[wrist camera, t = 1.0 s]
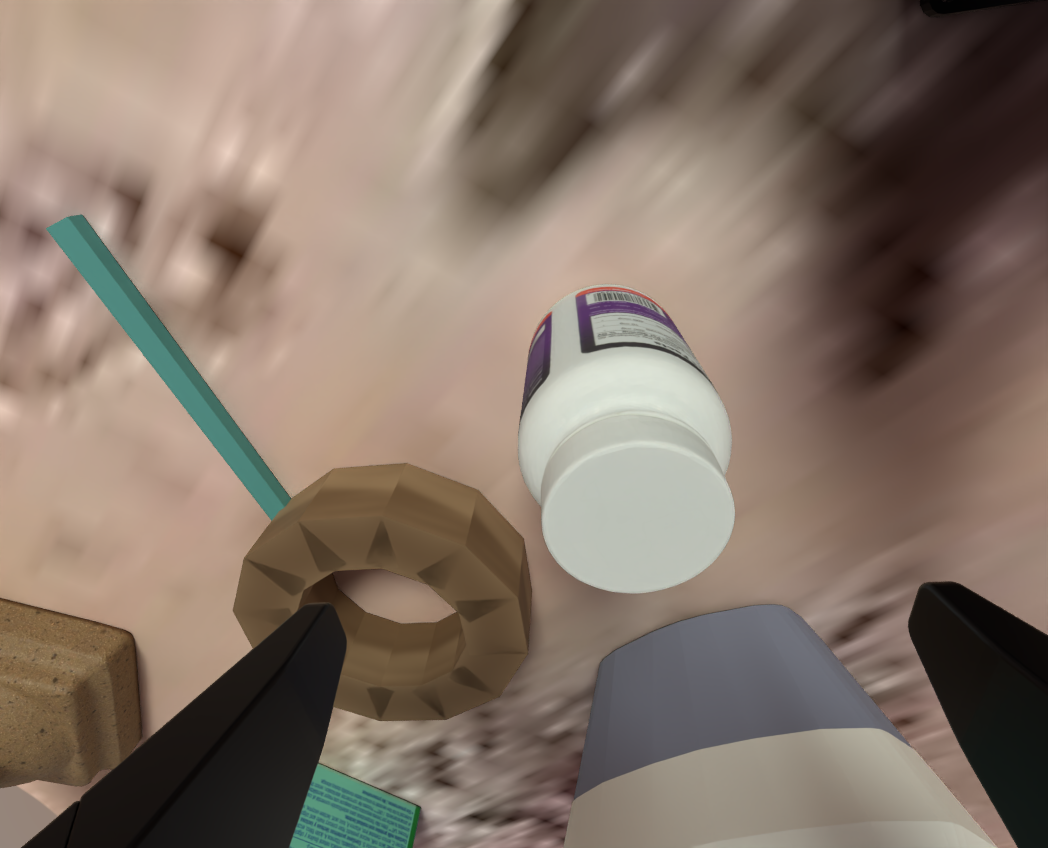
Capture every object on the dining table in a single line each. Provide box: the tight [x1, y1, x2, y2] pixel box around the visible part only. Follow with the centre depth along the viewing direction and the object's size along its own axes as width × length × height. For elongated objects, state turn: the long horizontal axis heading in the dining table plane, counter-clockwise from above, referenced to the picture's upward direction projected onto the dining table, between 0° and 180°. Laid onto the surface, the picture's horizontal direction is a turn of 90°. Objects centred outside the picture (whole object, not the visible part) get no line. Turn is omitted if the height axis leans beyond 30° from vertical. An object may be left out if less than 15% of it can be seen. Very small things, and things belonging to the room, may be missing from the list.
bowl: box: [563, 605, 997, 848], centre depth 23 cm, size 15×15×11 cm
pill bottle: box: [518, 284, 735, 594], centre depth 15 cm, size 5×5×10 cm
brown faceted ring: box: [233, 463, 532, 721], centre depth 24 cm, size 12×12×4 cm
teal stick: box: [46, 215, 291, 521], centre depth 21 cm, size 14×1×1 cm, turn 22°
